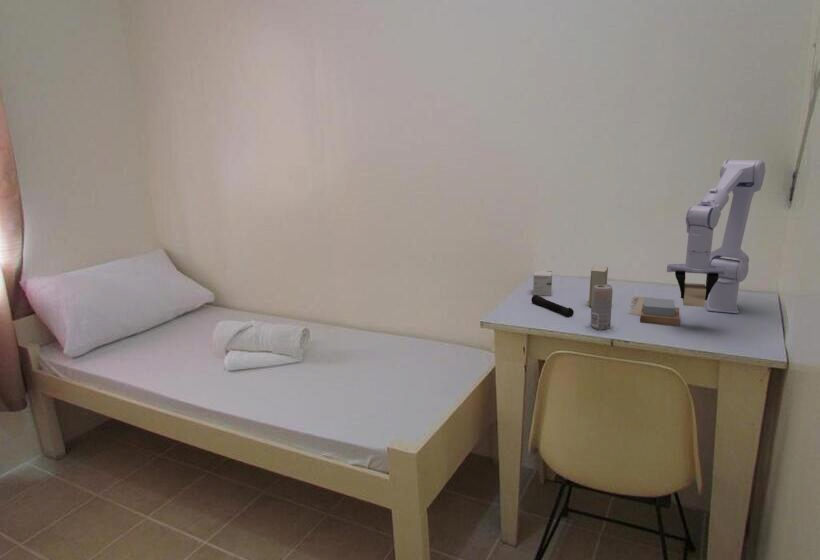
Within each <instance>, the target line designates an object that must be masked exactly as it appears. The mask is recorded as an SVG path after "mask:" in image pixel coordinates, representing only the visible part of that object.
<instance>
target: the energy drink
mask: <svg viewBox="0 0 820 560" xmlns="http://www.w3.org/2000/svg"><path fill="white" fill-rule="evenodd" d="M612 304H613V286H612V285H610V284H608V283H607V284H596V285H594V286H593V289H592V306H591V308H590V309H591V310H590V312H591V313H590V327H591V328H593V329H595V328H596V329H595V330H602V329H603V330H607V329H609V328H611V324H612V322H611V320H612V309H613V308H612Z"/></svg>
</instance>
